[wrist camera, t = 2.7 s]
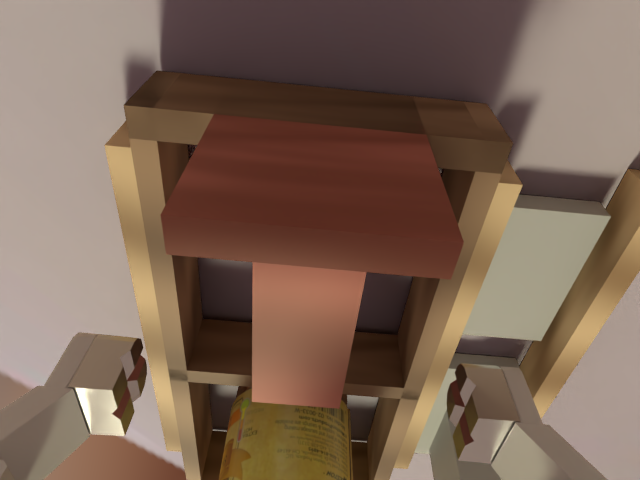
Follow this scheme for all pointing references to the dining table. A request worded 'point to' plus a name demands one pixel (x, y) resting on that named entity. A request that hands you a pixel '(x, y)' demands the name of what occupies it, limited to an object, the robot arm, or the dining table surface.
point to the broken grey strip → (517, 303)
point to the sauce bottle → (286, 441)
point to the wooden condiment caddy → (307, 241)
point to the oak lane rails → (542, 357)
